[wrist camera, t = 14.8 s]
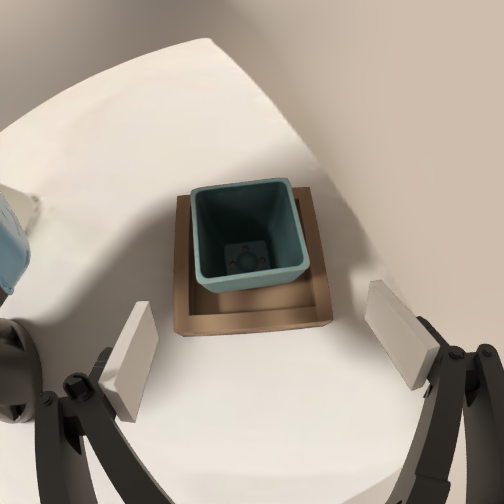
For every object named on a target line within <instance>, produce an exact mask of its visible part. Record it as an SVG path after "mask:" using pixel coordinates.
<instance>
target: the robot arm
mask: <svg viewBox="0 0 504 504" xmlns="http://www.w3.org/2000/svg"><path fill="white" fill-rule="evenodd" d="M29 262H30V246H29V243H28V240H27V237H26V235H25V233H24V231H23V229H22V227H21V225H20V223H19V221H18V219H17V218H16V216H15V214H14V213H13V211H12V209H11V207H10V206H9V204H8V202H7V201H6V199H5V198H4V196H3V194H2V193H1V191H0V307H1V306H2V304H3V303H4V301H5V300H6V298H7V297H8V295H12V294H13V292H14V287H15V285H16V284H17V282H18V281H19V279H20V278H21V276H22V275H23V273H24V272H25V270H26V269H27V267H28V265H29ZM365 320H366V322H367V323H368V325H369V326H370V328H371V329H372V331H373V332H374V334H375V335H376V337H377V338H378V340H379V341H380V343H381V344H382V346H383V347H384V349H385V350H386V352H387V354H388V355H389V357H390V358H391V360H392V361H393V363H394V365H395V366H396V368H397V369H398V371H399V373H400V374H401V376H402V377H403V379H404V381H405V382H406V384H407V386H408V387H409V389H410V390H411V391H412V390H415V389H418V388H421V387H423V385H424V383H425V381H426V379H427V380H428V381H429V383H430V384H429V387H428V389H427V391H426V393H425V395H424V397H423V398H425V401H424V405H423V409H422V412H421V416H420V419H419V423H418V426H417V429H416V432H415V435H414V438H413V441H412V444H411V447H410V450H409V452H408V455H407V458H406V460H405V463H404V465H403V468H402V470H401V473H400V475H399V478H398V480H397V482H396V484H395V487H394V489H393V491H392V493H391V495H390V497H389V499H388V501H387V502H386V503H385V504H445V503H446V500H447V497H448V494H449V491H450V486H451V484H450V482H449V481H448V475H449V471H450V468H451V464H452V460H453V455H454V452H455V447H456V442H457V437H458V432H459V427H460V421H461V414H462V408H463V416H464V424H465V437H466V455H467V489H466V504H504V370H503V367H502V363H501V361H500V358H499V355H498V352H497V350H496V349H495V348H494V347H493V346H491V345H489V344H481V345H479V347H478V349H477V351H476V352H470V353H466V352H465V351H464V350H463V349H462V348H460V347H458V346H450V345H449V344H448V343H447V342H446V341H445V340H444V339H443V338H442V337H441V335H440V334H439V333H438V332H436V330H435V328H434V327H432V325H431V324H430V323H429V322H428V321H427V320H426V319H424V318H422V317H421V316H418V317H415V316H414V315H413V314H412V313H411V312H410V310H409V309H408V308H407V307H406V306H405V305H404V304H403V303H402V302H401V301H400V300H399V298H398V297H397V296H396V295H395V294H394V293H393V292H392V291H391V290H390V289H389V288H388V287H387V286H386V285H385V284H384V282H383V281H382V280H376V281H370V287H369V294H368V300H367V307H366V313H365ZM158 341H159V335H158V332H157V329H156V325H155V322H154V318H153V315H152V311H151V307H150V303H149V301H138V302H136V304H135V306H134V308H133V310H132V312H131V314H130V316H129V318H128V320H127V322H126V324H125V326H124V328H123V330H122V332H121V334H120V336H119V338H118V340H117V342H116V344H115V347H114V348H110V347H107V348H106V349H105V350H103V351H102V352H101V353H100V355H99V357H98V359H97V362H96V363H95V365H94V367H93V369H92V371H91V373H90V375H89V377H87V375H86V374H83V373H74V374H72V375H70V376H68V377H67V378H66V379H65V381H64V383H63V389H64V390H65V392H66V393H67V395H68V396H69V397H62V398H58V396H57V395H56V394H55V393H54V392H52V391H46V392H43V393H42V372H41V365H40V361H39V357H38V353H37V350H36V348H35V345H34V343H33V341H32V339H31V337H30V336H29V334H28V333H27V331H26V330H25V329H24V328H23V327H22V326H21V325H19V324H18V323H16V322H13V321H11V320H8V319H5V318H0V421H3V422H6V423H23V422H26V421H28V420H30V419H31V418H32V417H33V416H34V414H35V457H36V471H37V481H38V489H39V496H40V503H41V504H98V502H97V499H96V495H95V492H94V488H93V484H92V480H91V476H90V471H89V467H88V462H87V457H86V452H85V447H84V441H83V436H84V435H86V436H87V438H88V440H89V442H90V444H91V446H92V448H93V450H94V452H95V454H96V456H97V458H98V460H99V461H100V463H101V465H102V467H103V469H104V470H105V472H106V474H107V476H108V477H109V479H110V481H111V482H112V484H113V486H114V487H115V489H116V490H117V492H118V494H119V495H120V497H121V498H122V500H123V501H124V503H125V504H175V503H174V502H173V501H172V499H171V498H170V497H169V496H168V495H167V494H166V492H165V491H164V490H163V489H162V488H161V486H160V485H159V484H158V483H157V481H156V480H155V479H154V478H153V476H152V475H151V474H150V472H149V471H148V470H147V468H146V467H145V466H144V464H143V463H142V462H141V460H140V459H139V457H138V456H137V454H136V453H135V452H134V450H133V449H132V447H131V446H130V444H129V443H128V441H127V440H126V438H125V437H124V435H123V433H122V432H121V430H120V429H119V427H118V425H117V424H116V422H115V417H116V414H117V416H118V417H119V419H120V420H121V421H124V422H134V423H135V422H136V418H137V414H138V410H139V407H140V403H141V399H142V396H143V392H144V388H145V385H146V381H147V378H148V374H149V371H150V367H151V364H152V361H153V357H154V354H155V351H156V347H157V344H158Z"/></svg>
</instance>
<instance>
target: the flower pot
mask: <svg viewBox="0 0 504 504" xmlns="http://www.w3.org/2000/svg"><path fill="white" fill-rule="evenodd" d="M191 208H192V221H193V237H194V251H195V267H196V278H197V281H198V282H199V283H200V284H201V285H203V286H204V287H205V288H207V289H208V290H209V291H211V292H213V293H224V292H231V291H238V290H245V289H252V288H259V287H266V286H273V285H280V284H286V283H290V282H292V281H294V280H295V279H296V278H297V277H299V276H300V275H301V274H302V273H303V272H304V271H305V270H306V269H307V268H308V267H309V265H310V260H309V255H308V252H307V248H306V244H305V240H304V236H303V232H302V228H301V224H300V220H299V216H298V212H297V208H296V204H295V200H294V197H293V193H292V189H291V185H290V182H289V180H288V179H287V178H272V179H263V180H256V181H248V182H240V183H232V184H223V185H215V186H207V187H201V188H197V189H194V190H192V191H191ZM244 247H247V248H248V250H247V251H243V248H244ZM260 259H264V262H263V263H261V262H260ZM231 263H235V266H234V267H231V266H230V264H231Z"/></svg>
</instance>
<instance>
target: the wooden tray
mask: <svg viewBox="0 0 504 504" xmlns="http://www.w3.org/2000/svg"><path fill="white" fill-rule="evenodd" d="M291 189H292V193H293V197H294V200H295V204H296V208H297V212H298V216H299V220H300V224H301V228H302V232H303V236H304V240H305V244H306V248H307V252H308V255H309V260H310V265H309V267H308V268H307V269H306V270H305V271H304V272H303V273H302V274H301V275H300V276H299V277H297V278H296V279H295V280H294V281H292V282H290V283H286V284H280V285H273V286H266V287H259V288H252V289H245V290H238V291H231V292H224V293H213V292H211V291H209V290H208V289H207V288H205V287H204V286H203V285H201V284H200V283H199V282H198V281H197V278H196V267H195V251H194V237H193V221H192V208H191V195H182V196H177V208H176V225H175V248H174V332H175V333H177V334H179V335H181V336H183V337H186V336H214V335H233V334H248V333H261V332H273V331H284V330H294V329H303V328H312V327H320V326H324V325H326V324H327V323H329V322H331V321H332V320H333V314H332V307H331V300H330V294H329V287H328V281H327V275H326V269H325V263H324V257H323V252H322V246H321V241H320V236H319V230H318V225H317V220H316V215H315V211H314V206H313V201H312V197H311V192H310V187H300V188H291ZM247 250H248V248H247V247H244V248H243V251H247ZM260 262H261V263H263V262H264V259H260ZM230 266H231V267H234V266H235V263H231V264H230Z"/></svg>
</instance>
